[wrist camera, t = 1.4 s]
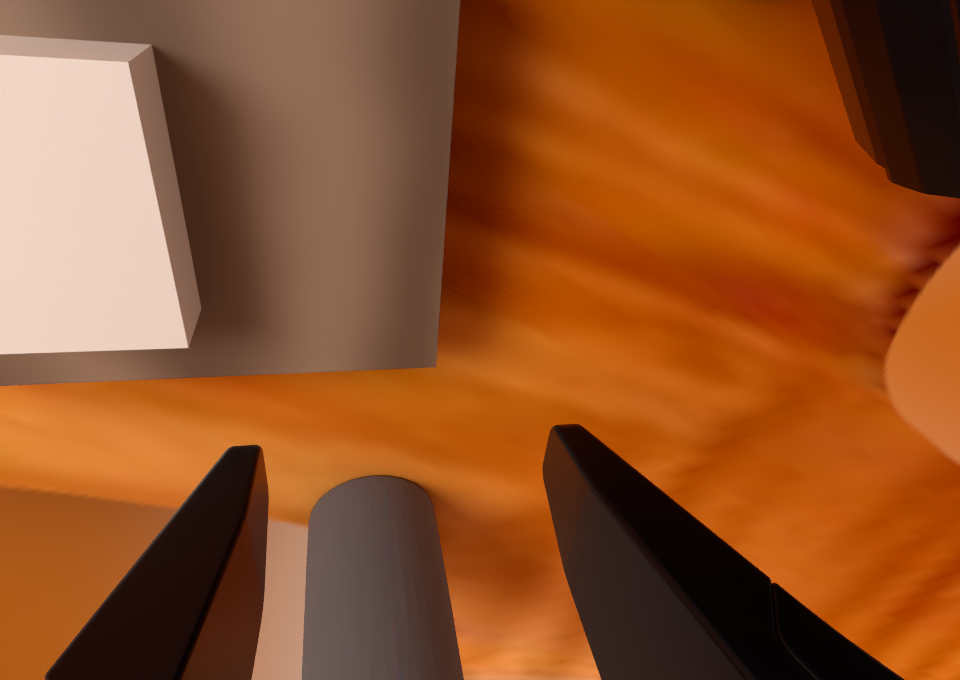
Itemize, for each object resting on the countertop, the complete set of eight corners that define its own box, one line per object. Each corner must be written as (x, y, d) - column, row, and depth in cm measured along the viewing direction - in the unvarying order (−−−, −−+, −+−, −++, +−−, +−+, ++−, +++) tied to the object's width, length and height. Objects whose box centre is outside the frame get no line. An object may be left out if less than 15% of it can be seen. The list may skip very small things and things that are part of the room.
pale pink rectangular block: (152, 44, 14) (128, 61, 12) (201, 308, 18) (188, 347, 16) (-110, 27, 13) (-174, 44, 11) (4, 312, 17) (-30, 355, 15)
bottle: (319, 566, 30) (311, 1005, 18) (297, 485, 27) (268, 959, 15) (437, 545, 31) (505, 951, 19) (430, 464, 28) (506, 895, 15)
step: (444, -59, 16) (463, -55, 14) (425, 319, 23) (435, 366, 21) (-161, -124, 13) (-268, -132, 11) (17, 329, 20) (-25, 387, 18)
